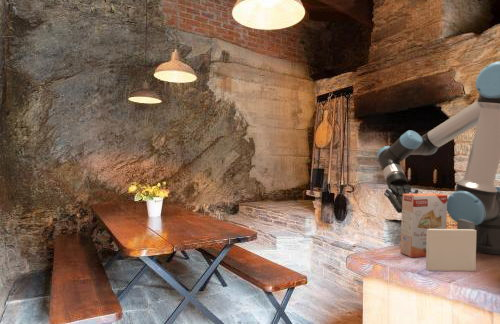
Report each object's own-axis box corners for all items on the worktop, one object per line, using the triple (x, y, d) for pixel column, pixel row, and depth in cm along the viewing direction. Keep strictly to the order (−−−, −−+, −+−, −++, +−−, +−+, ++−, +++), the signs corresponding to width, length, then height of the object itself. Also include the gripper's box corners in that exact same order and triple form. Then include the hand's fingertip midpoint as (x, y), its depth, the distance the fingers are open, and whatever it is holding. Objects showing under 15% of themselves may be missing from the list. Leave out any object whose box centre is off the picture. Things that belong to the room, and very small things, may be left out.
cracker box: (412, 258, 112) (413, 195, 111) (399, 253, 118) (401, 193, 117) (446, 255, 116) (448, 194, 115) (432, 250, 121) (434, 192, 121)
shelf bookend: (461, 262, 108) (462, 218, 108) (477, 270, 100) (478, 223, 100) (415, 262, 108) (416, 218, 107) (428, 270, 100) (429, 223, 100)
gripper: (408, 184, 140) (429, 233, 124) (376, 183, 140) (393, 233, 123) (414, 171, 134) (437, 222, 118) (382, 171, 134) (400, 221, 118)
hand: (415, 227), depth 121 cm, fingers closed
